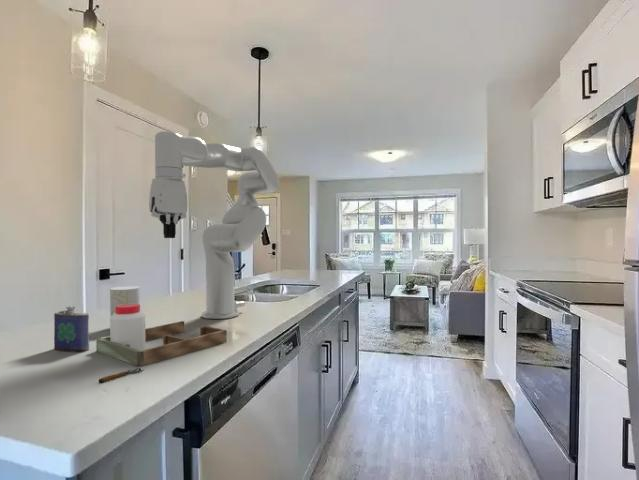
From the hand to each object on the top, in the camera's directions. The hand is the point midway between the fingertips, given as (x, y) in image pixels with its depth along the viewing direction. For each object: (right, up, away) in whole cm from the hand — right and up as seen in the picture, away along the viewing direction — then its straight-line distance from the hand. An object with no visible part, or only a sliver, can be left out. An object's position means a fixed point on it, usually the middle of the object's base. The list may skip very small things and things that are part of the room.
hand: (169, 237), depth 117 cm
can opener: (+5, -28, -38) cm, 47 cm away
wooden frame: (+5, -27, -17) cm, 32 cm away
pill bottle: (-2, -28, -20) cm, 34 cm away
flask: (-17, -28, -19) cm, 38 cm away
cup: (-15, -27, +4) cm, 31 cm away
